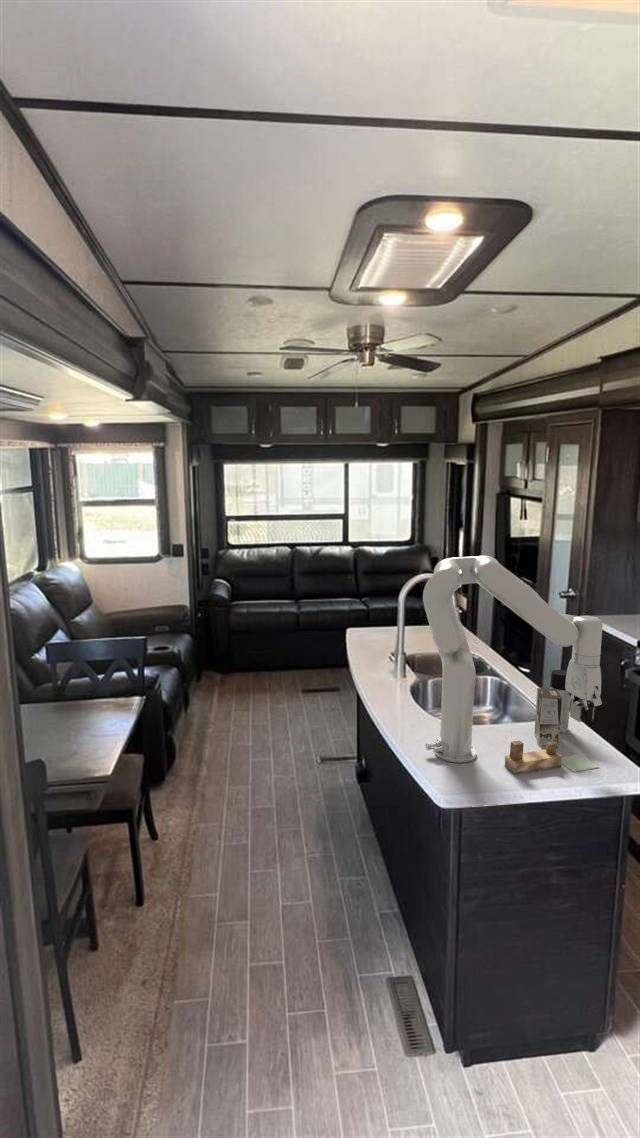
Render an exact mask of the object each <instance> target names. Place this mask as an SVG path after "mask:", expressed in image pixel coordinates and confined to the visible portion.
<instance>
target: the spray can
mask: <svg viewBox="0 0 640 1138" xmlns="http://www.w3.org/2000/svg"><path fill="white" fill-rule="evenodd" d="M566 675H567V669H566V670H565V669H553V670H552V671H551V674H550V683H549V689H557V690H558V692H559V694H560V696H561V698H562V706H561V718H560V731H559V734H561V733H562V734H563V733H564V734H565V733H566V732H568V729H569V724H570V723H569V722H570V721H569V720H570V706H571V701H570V698H571V697H570V695H569V692H568V691H567V690H566V688H565V683H566Z"/></svg>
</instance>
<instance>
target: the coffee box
mask: <svg viewBox="0 0 640 1138" xmlns="http://www.w3.org/2000/svg"><path fill="white" fill-rule="evenodd" d="M535 700H536V701H535V702H536V703H535V716H534V717H535V719H534V736H535V739H536V742H537V744H538V746H546V747H547V742H555V743H556V744H557V747H559V742H560V733H559V731H560V718H561V706H562V698H561V696H560V694H559V692H558V690H557V689H550V688H542V687H541V688H538V687H537V689H536V699H535Z"/></svg>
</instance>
